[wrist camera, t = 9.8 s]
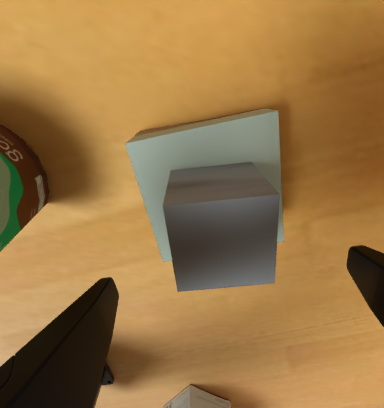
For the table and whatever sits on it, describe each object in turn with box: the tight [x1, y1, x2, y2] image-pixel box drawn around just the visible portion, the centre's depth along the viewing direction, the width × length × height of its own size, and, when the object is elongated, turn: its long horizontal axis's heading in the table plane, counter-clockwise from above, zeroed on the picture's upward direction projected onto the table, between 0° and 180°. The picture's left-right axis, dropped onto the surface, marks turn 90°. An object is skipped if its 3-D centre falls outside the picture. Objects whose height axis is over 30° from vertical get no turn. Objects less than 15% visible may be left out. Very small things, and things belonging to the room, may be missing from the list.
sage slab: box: [125, 108, 284, 262], centre depth 17 cm, size 9×9×2 cm
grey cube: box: [163, 162, 280, 292], centre depth 13 cm, size 5×5×5 cm
